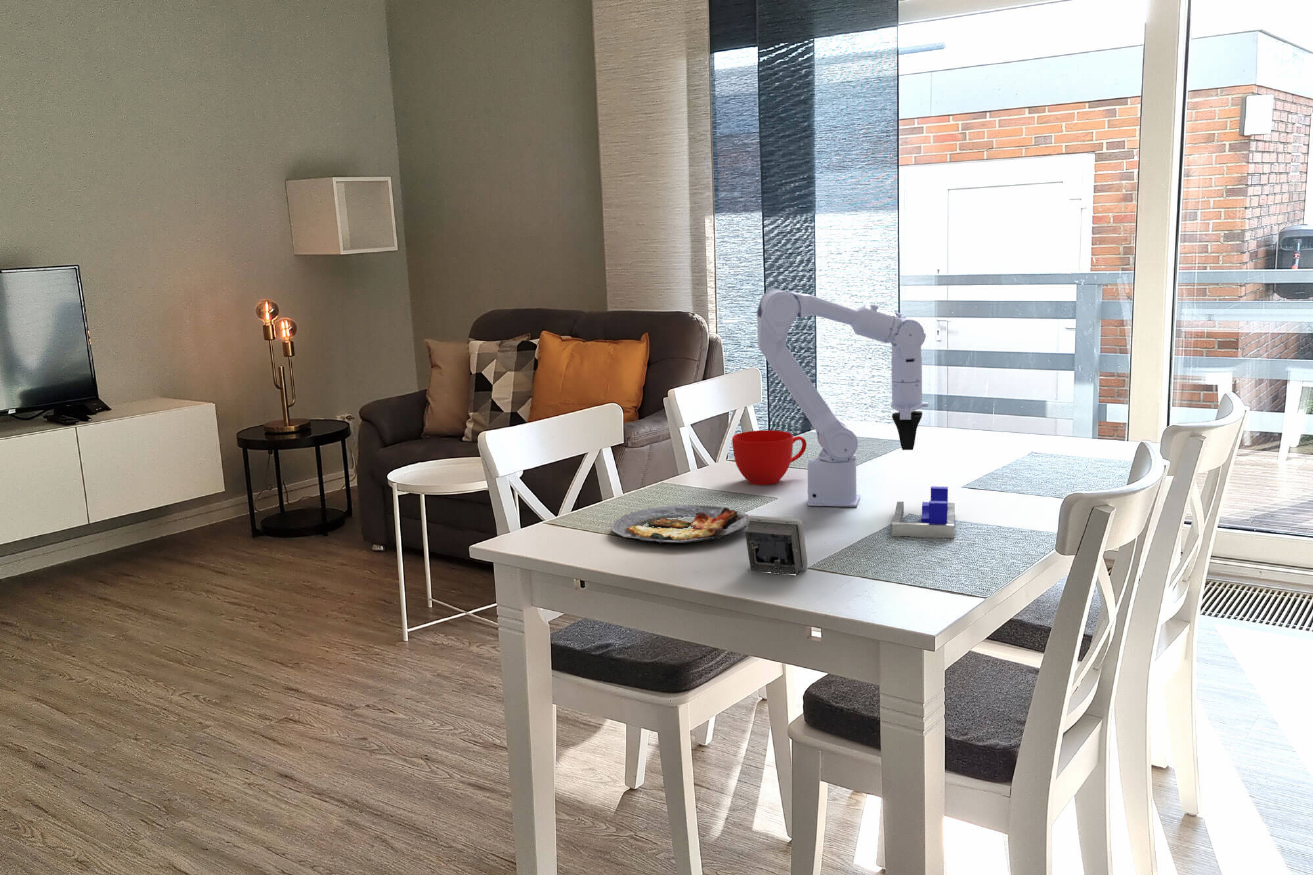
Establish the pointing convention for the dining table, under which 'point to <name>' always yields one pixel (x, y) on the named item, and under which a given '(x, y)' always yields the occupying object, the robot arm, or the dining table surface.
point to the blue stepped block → (936, 506)
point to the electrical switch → (775, 544)
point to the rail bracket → (923, 525)
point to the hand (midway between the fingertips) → (907, 449)
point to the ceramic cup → (765, 455)
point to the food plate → (680, 523)
